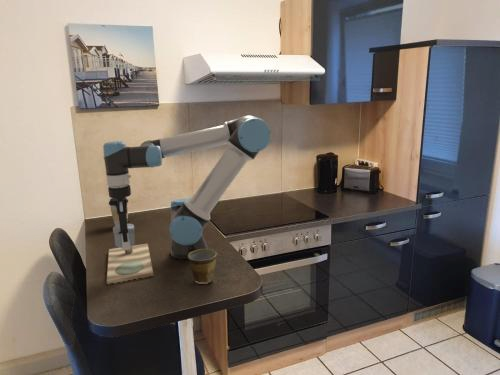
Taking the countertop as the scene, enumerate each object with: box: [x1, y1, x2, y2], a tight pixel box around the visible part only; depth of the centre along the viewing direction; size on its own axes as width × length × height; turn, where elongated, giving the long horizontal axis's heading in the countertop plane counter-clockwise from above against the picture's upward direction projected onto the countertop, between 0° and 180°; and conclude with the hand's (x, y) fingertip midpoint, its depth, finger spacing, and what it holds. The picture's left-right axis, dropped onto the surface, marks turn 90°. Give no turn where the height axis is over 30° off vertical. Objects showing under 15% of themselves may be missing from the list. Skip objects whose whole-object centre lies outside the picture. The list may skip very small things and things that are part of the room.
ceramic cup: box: [187, 248, 217, 282], centre depth 136 cm, size 13×10×10 cm
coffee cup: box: [108, 197, 129, 227], centre depth 193 cm, size 9×9×15 cm
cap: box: [112, 223, 136, 248], centre depth 141 cm, size 7×7×7 cm
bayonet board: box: [106, 242, 154, 285], centre depth 151 cm, size 30×16×10 cm, turn 18°
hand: (126, 245), depth 142 cm, fingers closed on cap, 7 cm apart
